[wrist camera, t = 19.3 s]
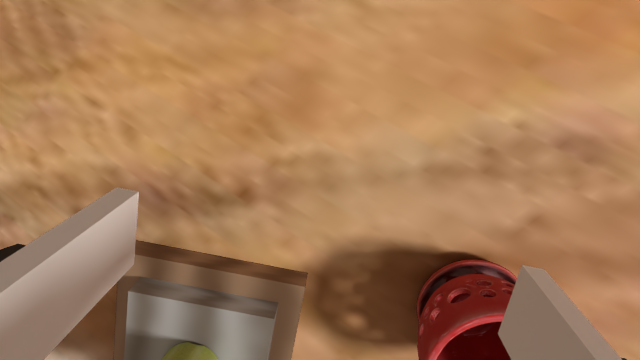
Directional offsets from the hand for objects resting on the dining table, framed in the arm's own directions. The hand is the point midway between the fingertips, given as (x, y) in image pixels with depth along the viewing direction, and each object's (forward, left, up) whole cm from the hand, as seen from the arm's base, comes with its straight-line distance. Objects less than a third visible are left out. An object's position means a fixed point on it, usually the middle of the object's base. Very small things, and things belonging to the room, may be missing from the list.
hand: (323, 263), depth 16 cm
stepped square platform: (-10, -28, -32) cm, 43 cm away
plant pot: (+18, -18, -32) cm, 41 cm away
